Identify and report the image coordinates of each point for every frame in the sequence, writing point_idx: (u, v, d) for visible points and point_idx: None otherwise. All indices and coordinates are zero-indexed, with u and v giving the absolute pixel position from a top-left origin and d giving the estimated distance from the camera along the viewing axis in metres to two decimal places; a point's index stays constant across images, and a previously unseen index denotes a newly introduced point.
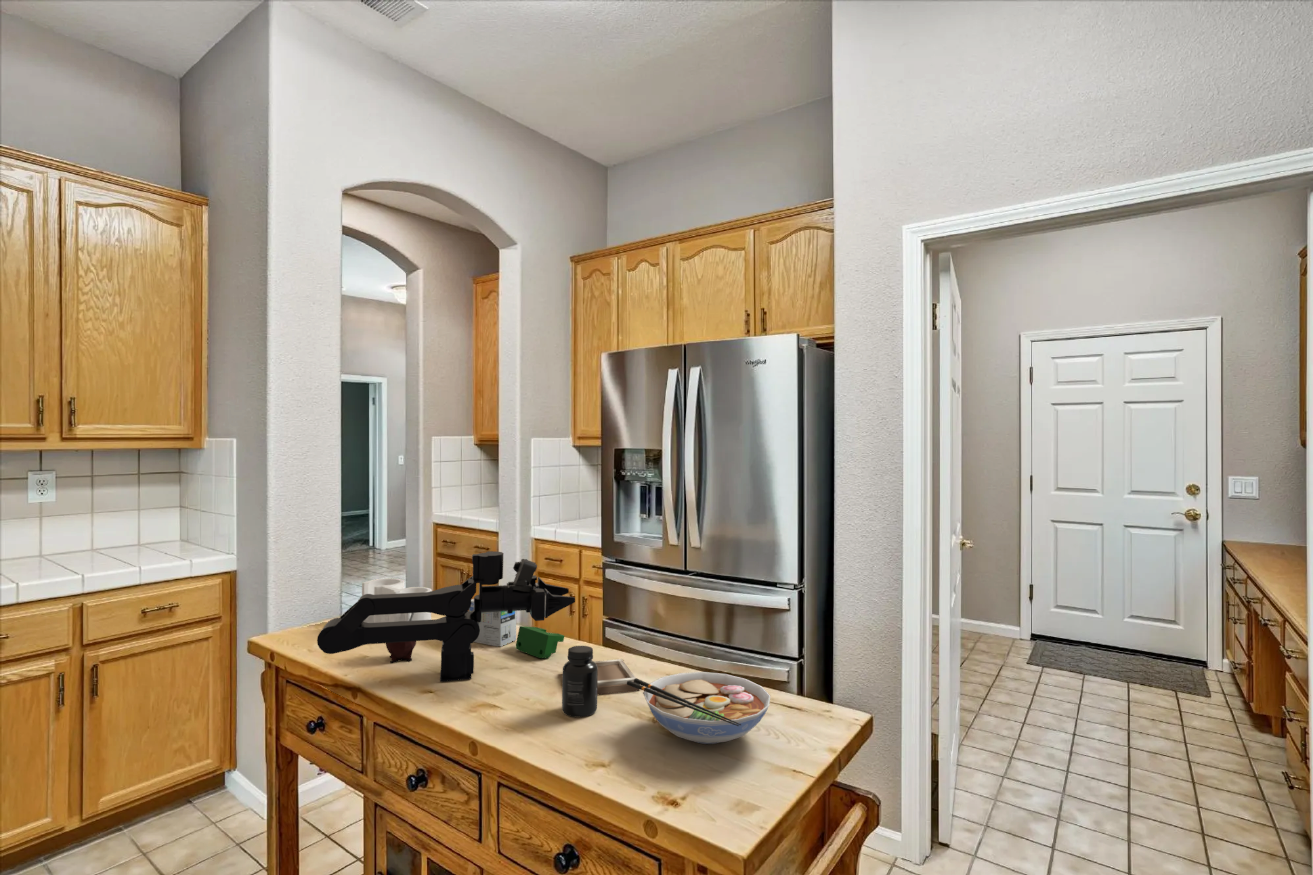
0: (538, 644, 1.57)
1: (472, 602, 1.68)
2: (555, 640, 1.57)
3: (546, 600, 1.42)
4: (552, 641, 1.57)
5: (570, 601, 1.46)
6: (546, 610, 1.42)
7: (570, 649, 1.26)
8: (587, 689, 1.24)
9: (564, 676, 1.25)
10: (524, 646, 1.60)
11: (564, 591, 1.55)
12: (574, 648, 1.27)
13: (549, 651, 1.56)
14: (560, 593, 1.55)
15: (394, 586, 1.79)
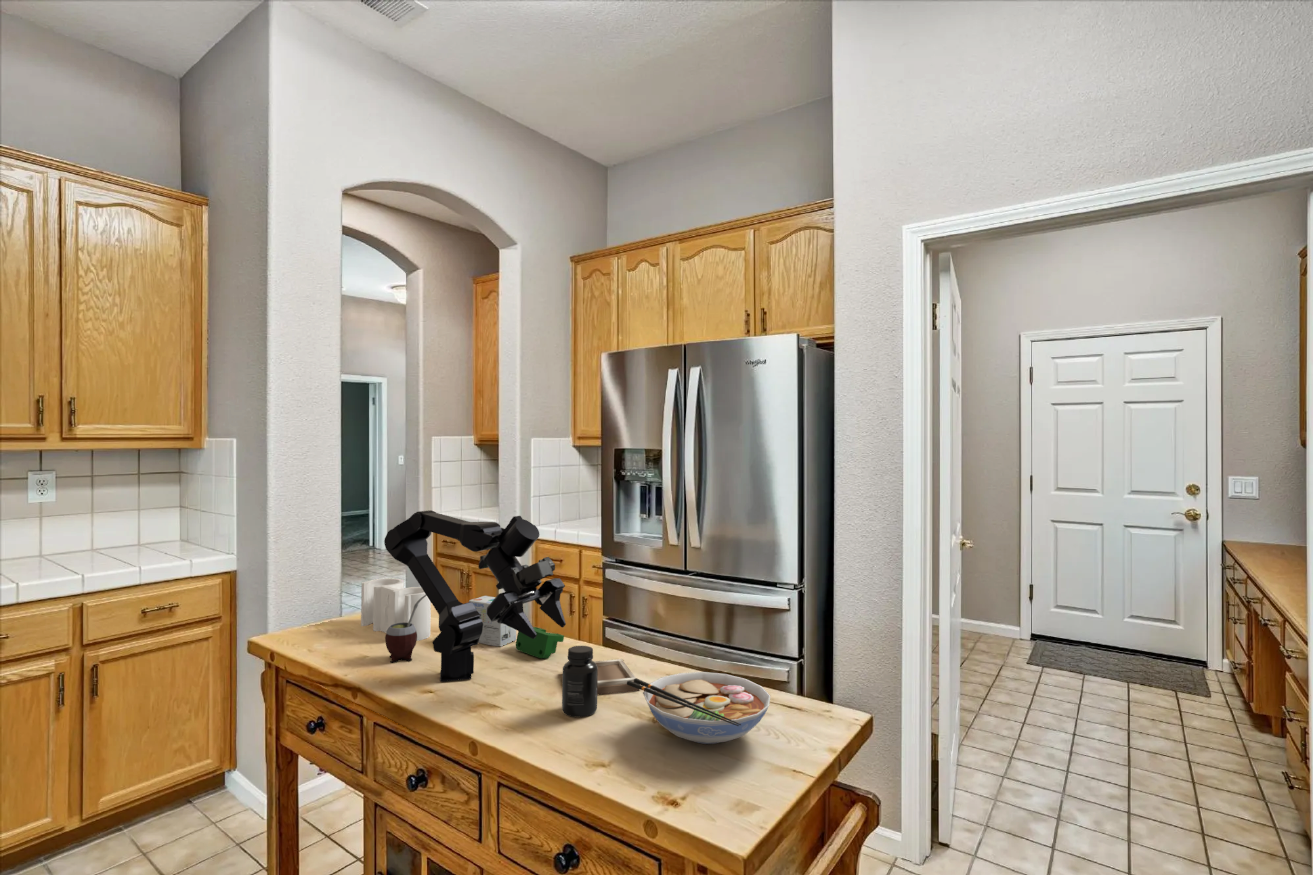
0: (538, 644, 1.57)
1: (472, 602, 1.68)
2: (555, 640, 1.57)
3: (507, 610, 1.26)
4: (552, 641, 1.57)
5: (529, 634, 1.27)
6: (501, 617, 1.27)
7: (570, 649, 1.26)
8: (587, 689, 1.24)
9: (564, 676, 1.25)
10: (523, 646, 1.60)
11: (560, 622, 1.35)
12: (574, 648, 1.27)
13: (549, 651, 1.56)
14: (556, 620, 1.36)
15: (393, 586, 1.79)
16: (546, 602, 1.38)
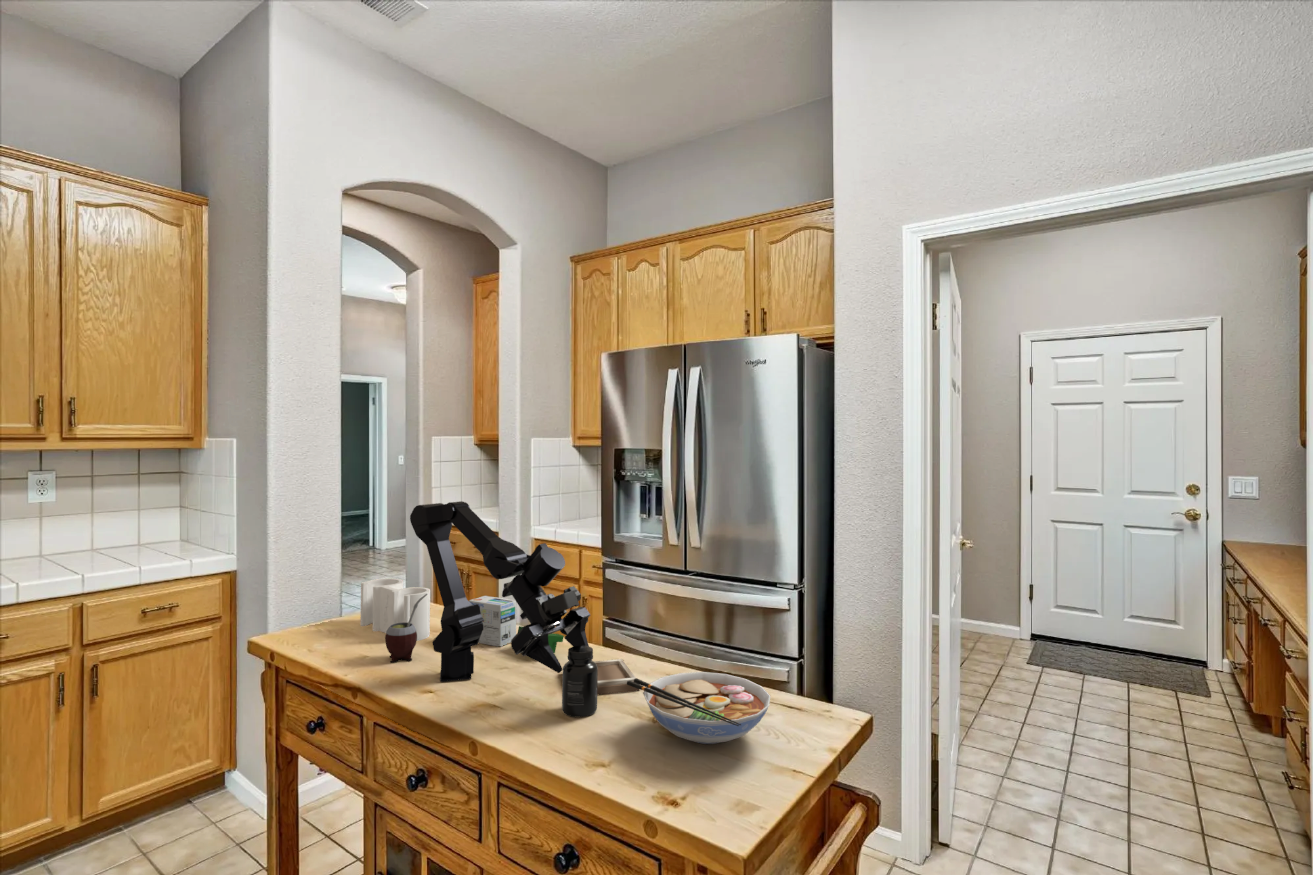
0: None
1: (472, 602, 1.68)
2: (554, 640, 1.57)
3: (532, 643, 1.22)
4: (551, 641, 1.57)
5: (555, 668, 1.23)
6: (526, 650, 1.23)
7: (570, 649, 1.26)
8: (587, 689, 1.24)
9: (564, 676, 1.25)
10: None
11: None
12: (574, 648, 1.27)
13: None
14: None
15: (393, 586, 1.79)
16: (571, 632, 1.34)
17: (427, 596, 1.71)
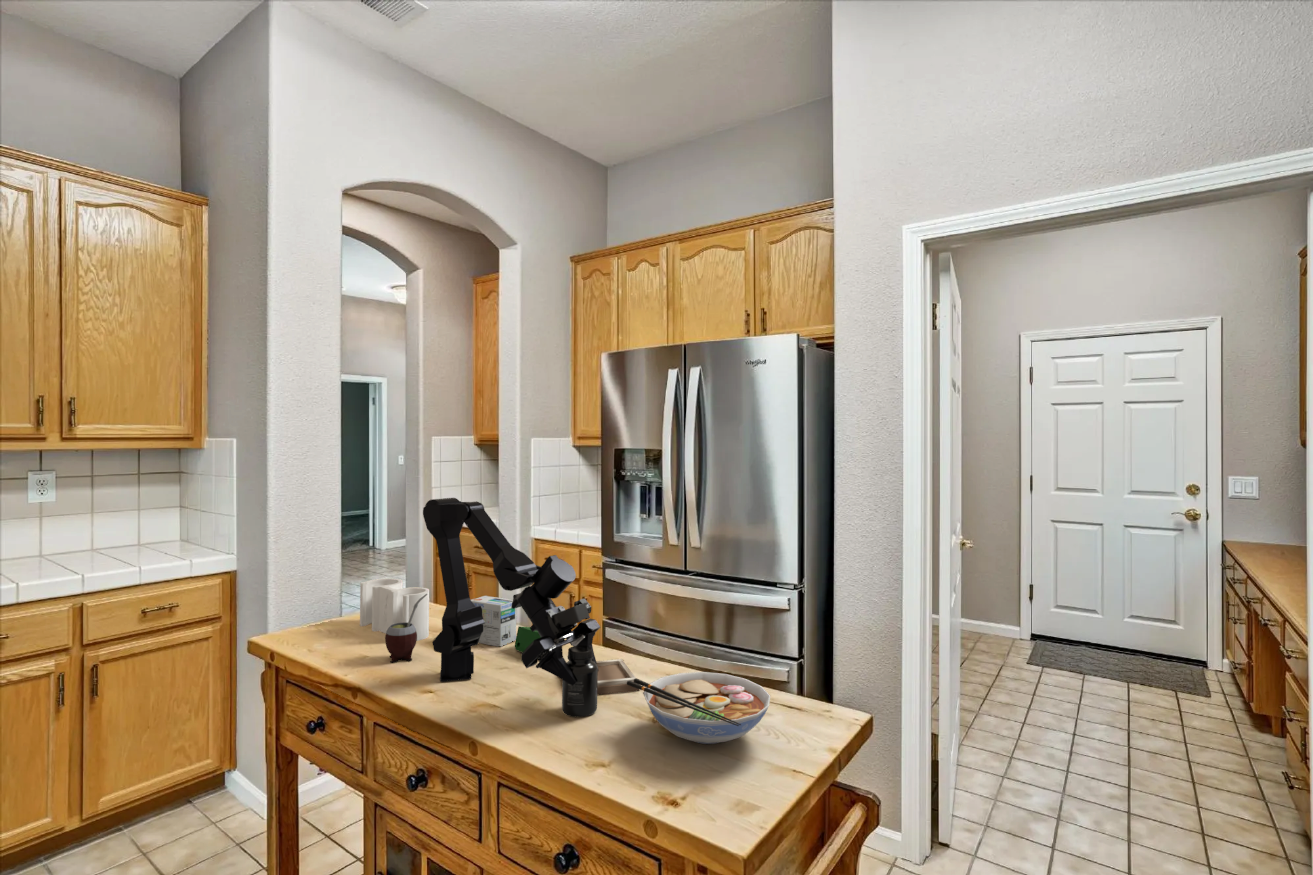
0: None
1: None
2: None
3: (546, 655, 1.22)
4: None
5: (569, 681, 1.23)
6: (540, 662, 1.23)
7: (570, 649, 1.26)
8: (587, 689, 1.24)
9: None
10: (523, 646, 1.60)
11: None
12: (574, 648, 1.27)
13: None
14: None
15: (392, 586, 1.79)
16: None
17: (426, 596, 1.71)
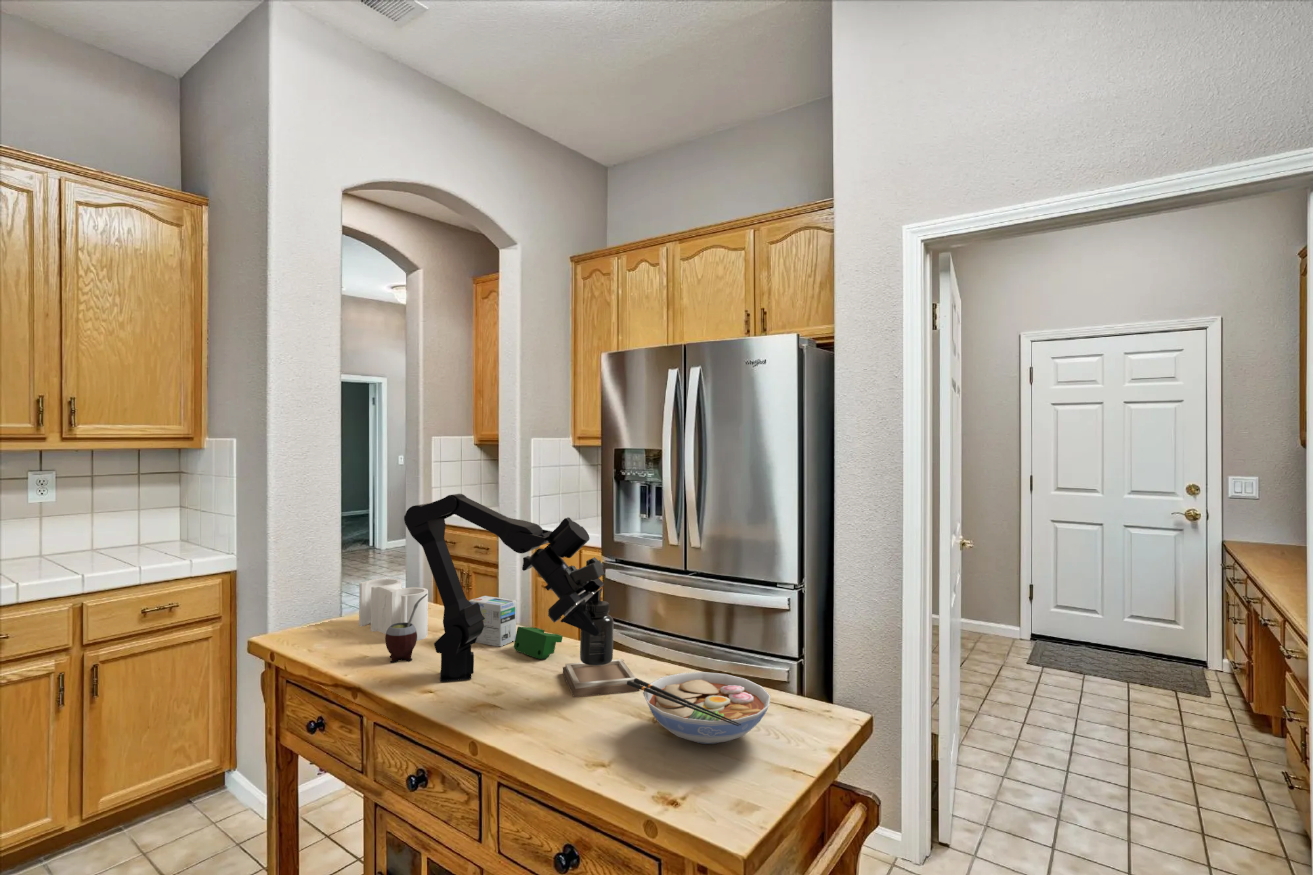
0: (536, 644, 1.57)
1: (472, 602, 1.68)
2: (553, 640, 1.57)
3: (573, 609, 1.30)
4: (550, 641, 1.56)
5: (592, 632, 1.32)
6: (566, 616, 1.30)
7: (588, 604, 1.35)
8: (607, 639, 1.34)
9: None
10: (522, 646, 1.60)
11: None
12: (591, 603, 1.36)
13: (547, 652, 1.56)
14: None
15: (391, 586, 1.79)
16: None
17: None
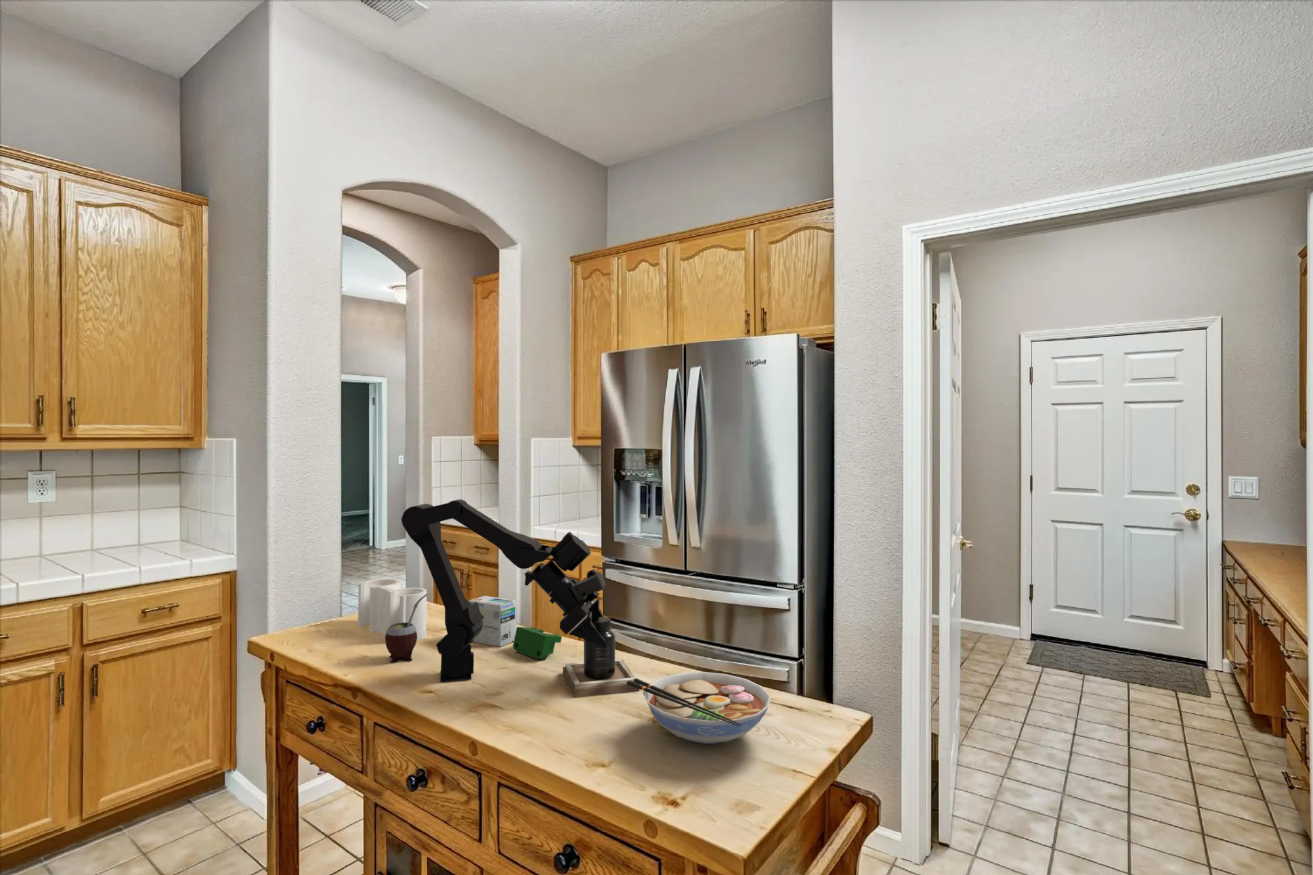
0: (535, 644, 1.57)
1: (472, 602, 1.68)
2: (552, 641, 1.57)
3: (582, 622, 1.34)
4: (549, 642, 1.56)
5: (599, 642, 1.37)
6: (575, 629, 1.34)
7: (592, 620, 1.41)
8: (612, 653, 1.40)
9: (590, 645, 1.39)
10: (521, 646, 1.60)
11: None
12: (594, 619, 1.42)
13: (546, 652, 1.55)
14: None
15: (390, 586, 1.78)
16: (588, 611, 1.47)
17: None
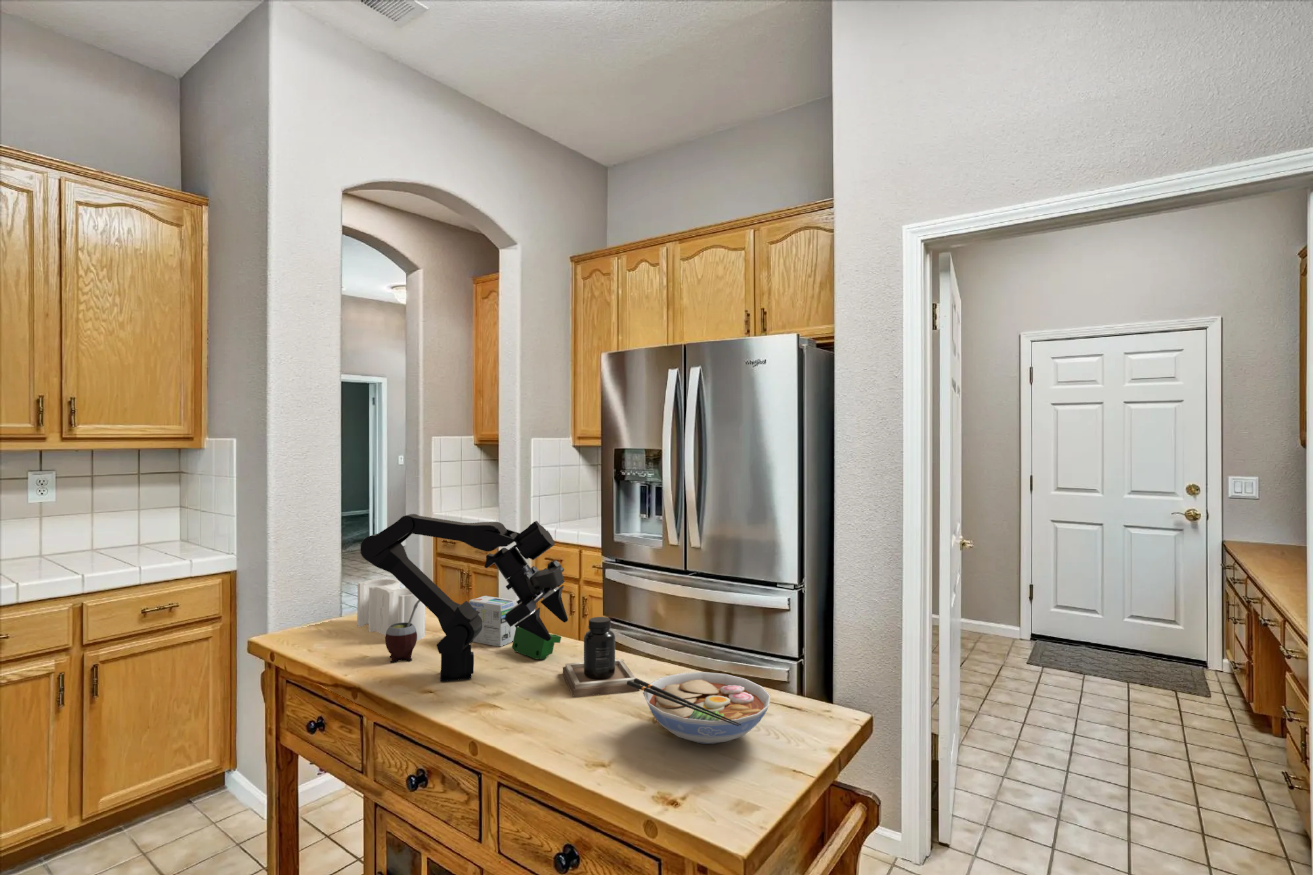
0: (535, 644, 1.56)
1: (472, 602, 1.68)
2: (552, 641, 1.57)
3: (527, 617, 1.35)
4: (549, 642, 1.56)
5: (544, 637, 1.38)
6: (519, 623, 1.36)
7: (592, 620, 1.41)
8: (611, 653, 1.40)
9: (590, 645, 1.39)
10: (520, 647, 1.59)
11: (563, 618, 1.47)
12: (594, 619, 1.42)
13: (545, 652, 1.55)
14: (559, 615, 1.48)
15: (389, 587, 1.78)
16: (548, 598, 1.48)
17: None
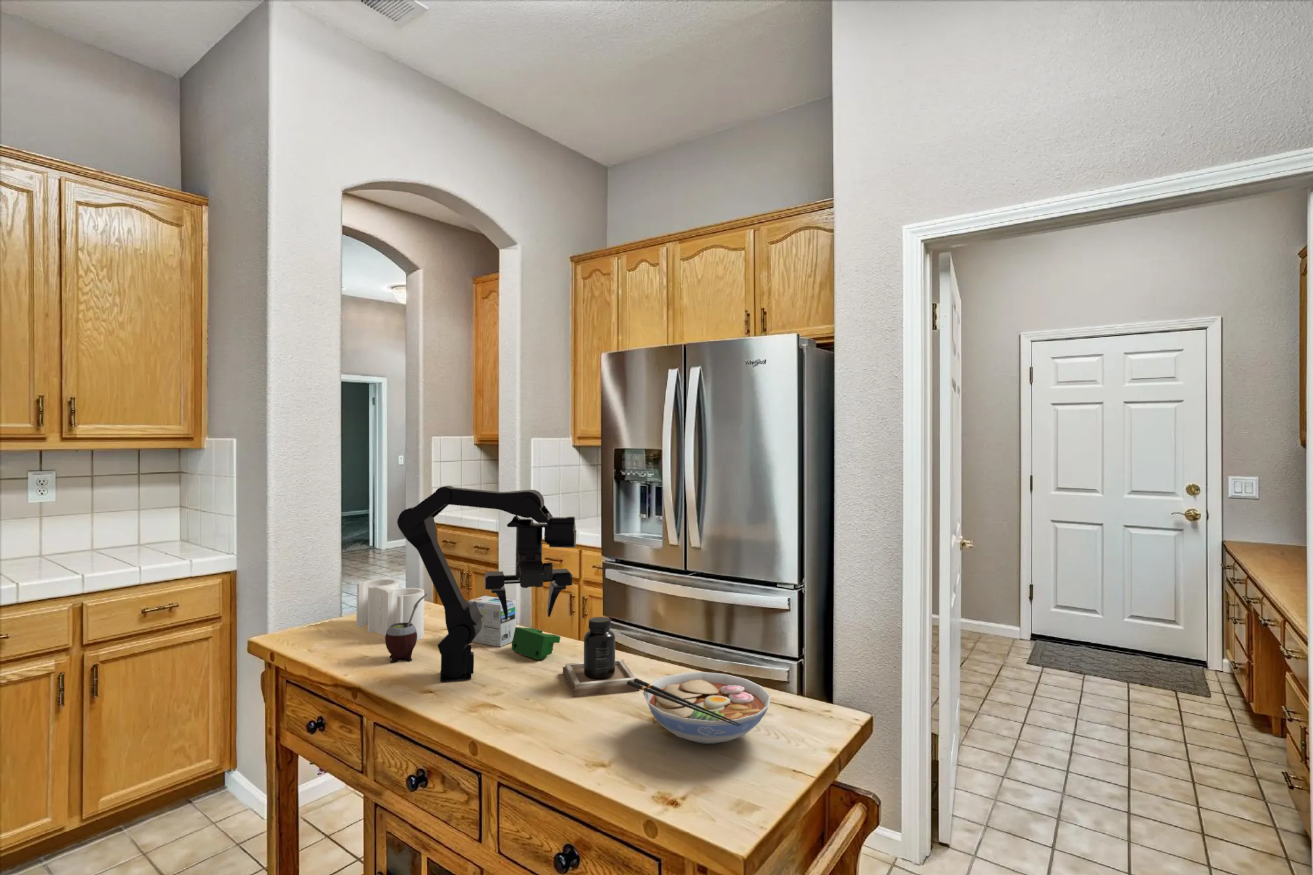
0: (534, 645, 1.56)
1: None
2: (551, 641, 1.57)
3: (491, 589, 1.41)
4: (548, 642, 1.56)
5: None
6: None
7: (592, 620, 1.41)
8: (611, 653, 1.40)
9: (590, 645, 1.39)
10: (520, 647, 1.59)
11: (547, 611, 1.46)
12: (594, 619, 1.42)
13: (545, 653, 1.55)
14: None
15: (388, 587, 1.78)
16: (551, 586, 1.47)
17: (421, 597, 1.70)
